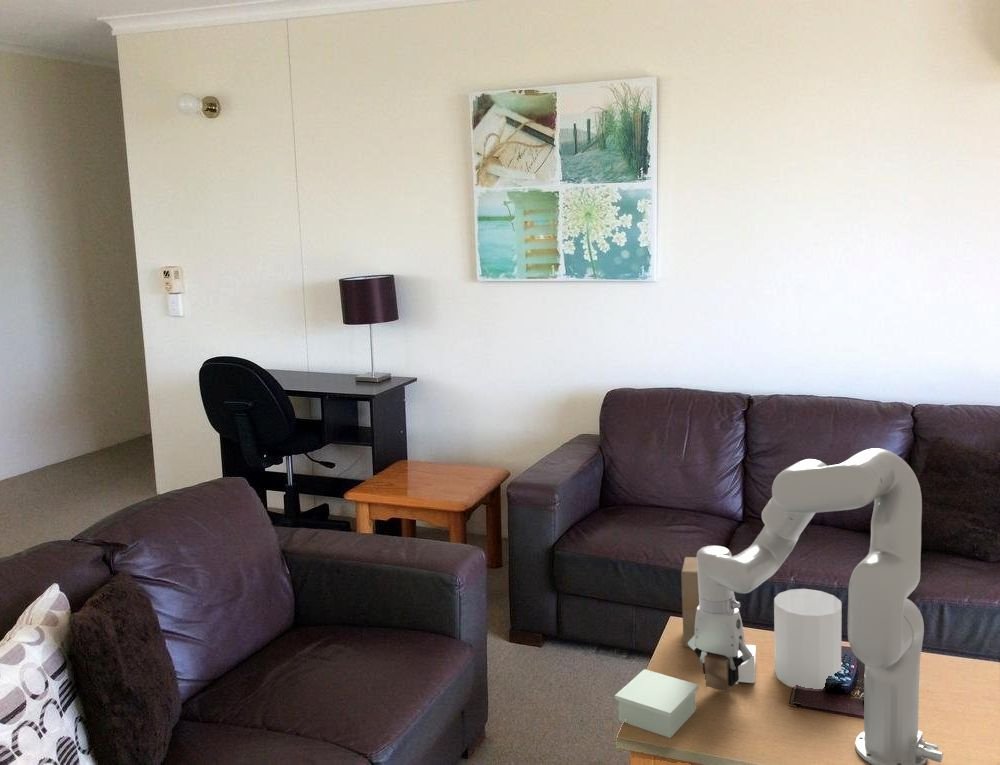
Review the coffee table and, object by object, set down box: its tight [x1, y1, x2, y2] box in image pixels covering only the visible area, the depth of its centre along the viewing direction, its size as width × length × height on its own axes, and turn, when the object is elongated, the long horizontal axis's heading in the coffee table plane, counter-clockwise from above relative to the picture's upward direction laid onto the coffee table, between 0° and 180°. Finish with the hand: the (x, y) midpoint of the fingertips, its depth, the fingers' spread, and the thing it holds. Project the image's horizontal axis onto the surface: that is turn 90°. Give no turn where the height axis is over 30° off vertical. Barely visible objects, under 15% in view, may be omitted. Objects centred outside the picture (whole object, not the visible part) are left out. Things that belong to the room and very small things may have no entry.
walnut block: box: [704, 652, 733, 693], centre depth 192 cm, size 5×5×7 cm
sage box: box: [614, 668, 699, 739], centre depth 186 cm, size 13×13×6 cm
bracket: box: [734, 644, 757, 685], centre depth 202 cm, size 13×7×8 cm, turn 162°
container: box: [773, 588, 842, 689], centre depth 197 cm, size 14×14×18 cm
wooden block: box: [680, 556, 699, 648], centre depth 217 cm, size 10×10×20 cm
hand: (720, 679), depth 192 cm, fingers closed on walnut block, 5 cm apart
